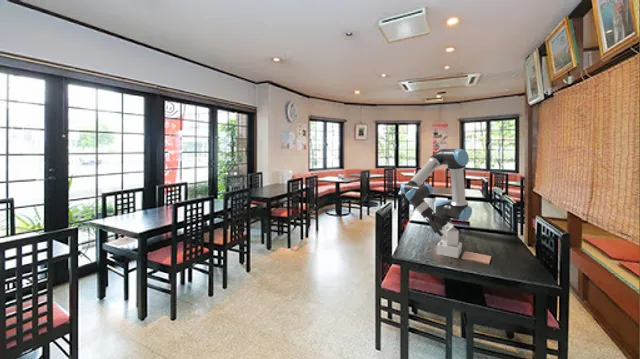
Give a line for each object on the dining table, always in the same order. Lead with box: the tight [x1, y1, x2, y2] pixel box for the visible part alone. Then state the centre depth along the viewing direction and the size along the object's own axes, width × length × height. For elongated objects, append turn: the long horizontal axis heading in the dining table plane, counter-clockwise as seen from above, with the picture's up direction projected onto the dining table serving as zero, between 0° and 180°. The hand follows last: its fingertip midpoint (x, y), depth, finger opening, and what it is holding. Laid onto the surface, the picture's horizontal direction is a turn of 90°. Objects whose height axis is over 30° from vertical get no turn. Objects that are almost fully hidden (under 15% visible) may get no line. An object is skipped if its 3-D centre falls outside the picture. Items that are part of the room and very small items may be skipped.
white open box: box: [436, 238, 463, 259], centre depth 176 cm, size 12×12×6 cm
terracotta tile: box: [461, 251, 492, 265], centre depth 168 cm, size 12×14×1 cm
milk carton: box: [440, 222, 460, 248], centre depth 176 cm, size 7×7×19 cm
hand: (448, 237), depth 175 cm, fingers open, 13 cm apart
